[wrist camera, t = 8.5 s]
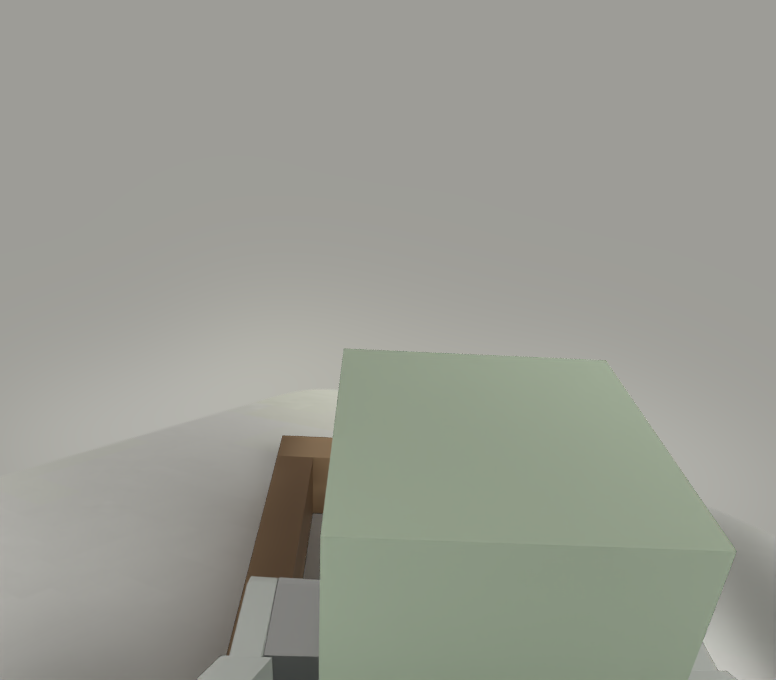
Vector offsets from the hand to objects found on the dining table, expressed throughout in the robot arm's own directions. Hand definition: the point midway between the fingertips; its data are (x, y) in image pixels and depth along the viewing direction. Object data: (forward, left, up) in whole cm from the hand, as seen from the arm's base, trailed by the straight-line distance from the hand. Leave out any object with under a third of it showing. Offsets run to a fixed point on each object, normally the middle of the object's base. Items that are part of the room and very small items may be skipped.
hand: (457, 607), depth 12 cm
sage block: (0, -1, -7) cm, 8 cm away
